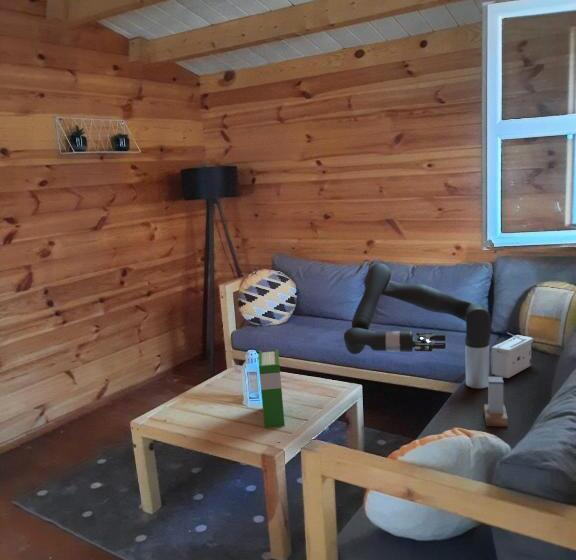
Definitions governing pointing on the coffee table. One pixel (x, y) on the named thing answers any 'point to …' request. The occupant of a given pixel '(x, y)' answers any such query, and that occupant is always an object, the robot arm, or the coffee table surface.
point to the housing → (495, 395)
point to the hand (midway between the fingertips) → (445, 341)
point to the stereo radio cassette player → (511, 356)
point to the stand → (495, 417)
